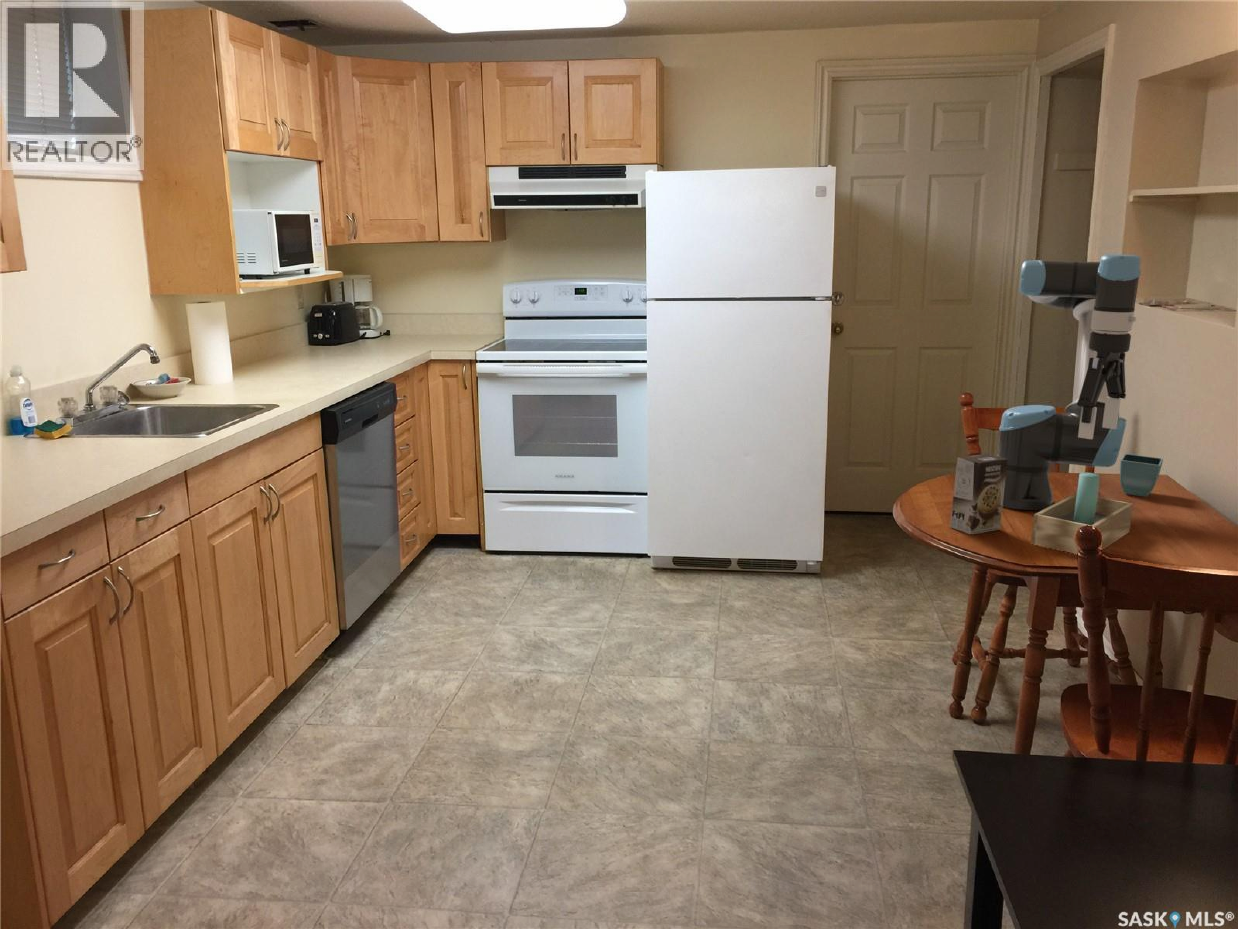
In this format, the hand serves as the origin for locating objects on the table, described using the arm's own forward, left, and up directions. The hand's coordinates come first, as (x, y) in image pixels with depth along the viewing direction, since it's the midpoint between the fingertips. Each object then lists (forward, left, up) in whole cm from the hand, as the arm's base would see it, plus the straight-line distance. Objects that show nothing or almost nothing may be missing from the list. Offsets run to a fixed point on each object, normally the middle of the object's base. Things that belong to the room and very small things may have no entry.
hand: (1097, 433), depth 207 cm
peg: (0, -2, -23) cm, 23 cm away
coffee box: (-19, -12, -23) cm, 32 cm away
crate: (0, -2, -23) cm, 23 cm away
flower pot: (-3, +45, -23) cm, 51 cm away
